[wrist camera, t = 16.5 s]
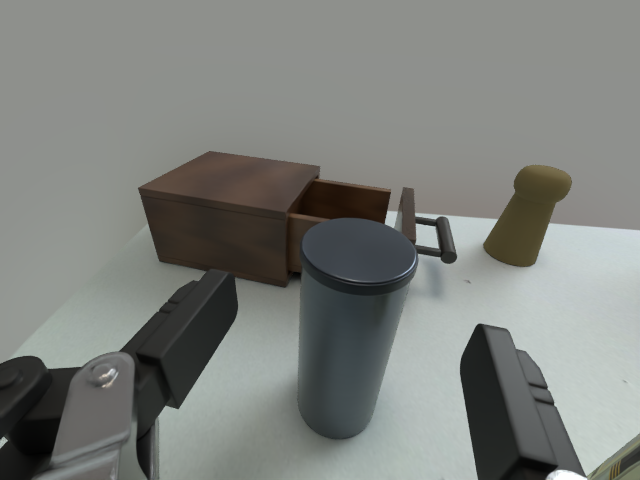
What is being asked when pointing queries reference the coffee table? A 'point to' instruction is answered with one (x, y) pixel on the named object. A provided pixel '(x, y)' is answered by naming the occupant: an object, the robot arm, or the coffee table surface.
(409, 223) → the drawer
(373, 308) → the slate tube
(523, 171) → the pepper shaker
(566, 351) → the coffee table surface
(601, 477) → the coffee can
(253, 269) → the cabinet
